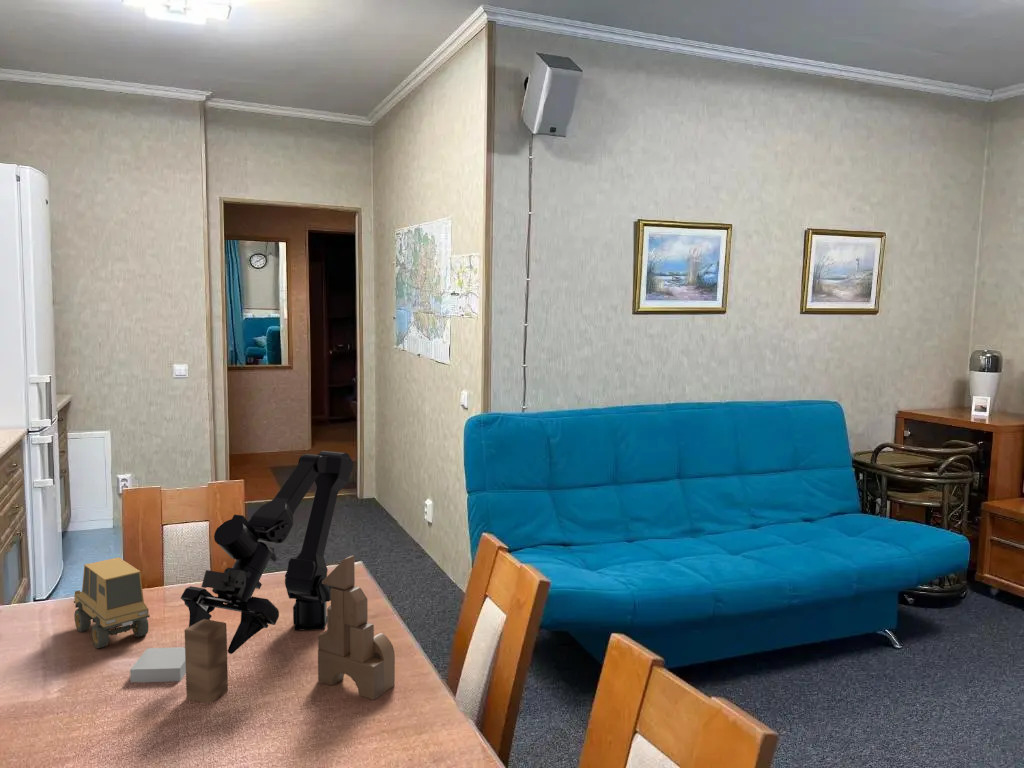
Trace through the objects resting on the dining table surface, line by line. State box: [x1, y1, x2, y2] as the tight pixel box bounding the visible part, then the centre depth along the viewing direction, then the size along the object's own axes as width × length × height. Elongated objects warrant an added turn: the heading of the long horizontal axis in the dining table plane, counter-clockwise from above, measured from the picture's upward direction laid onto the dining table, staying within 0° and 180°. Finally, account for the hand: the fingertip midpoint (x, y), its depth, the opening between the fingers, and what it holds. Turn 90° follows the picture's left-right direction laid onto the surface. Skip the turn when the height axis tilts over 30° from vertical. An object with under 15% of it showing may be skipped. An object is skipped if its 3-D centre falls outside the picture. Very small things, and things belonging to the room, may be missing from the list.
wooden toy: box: [317, 555, 396, 701], centre depth 147 cm, size 15×7×25 cm, turn 60°
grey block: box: [129, 646, 186, 684], centre depth 152 cm, size 9×9×3 cm
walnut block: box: [184, 619, 229, 705], centre depth 143 cm, size 5×5×13 cm
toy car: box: [73, 557, 150, 649], centre depth 168 cm, size 10×19×15 cm, turn 46°
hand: (208, 648), depth 143 cm, fingers open, 9 cm apart
